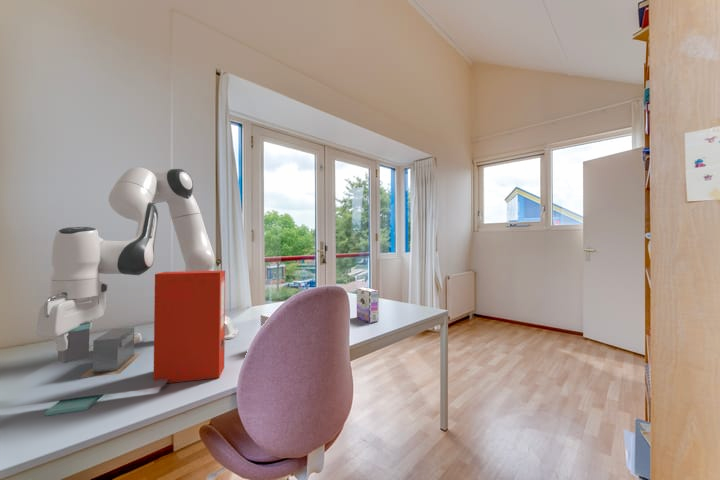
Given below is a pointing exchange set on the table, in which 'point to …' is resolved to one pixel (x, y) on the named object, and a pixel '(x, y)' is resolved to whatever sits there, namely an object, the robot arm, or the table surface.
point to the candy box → (367, 304)
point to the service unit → (113, 350)
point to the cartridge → (76, 344)
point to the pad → (73, 404)
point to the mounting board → (90, 372)
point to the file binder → (189, 325)
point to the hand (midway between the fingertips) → (73, 344)
